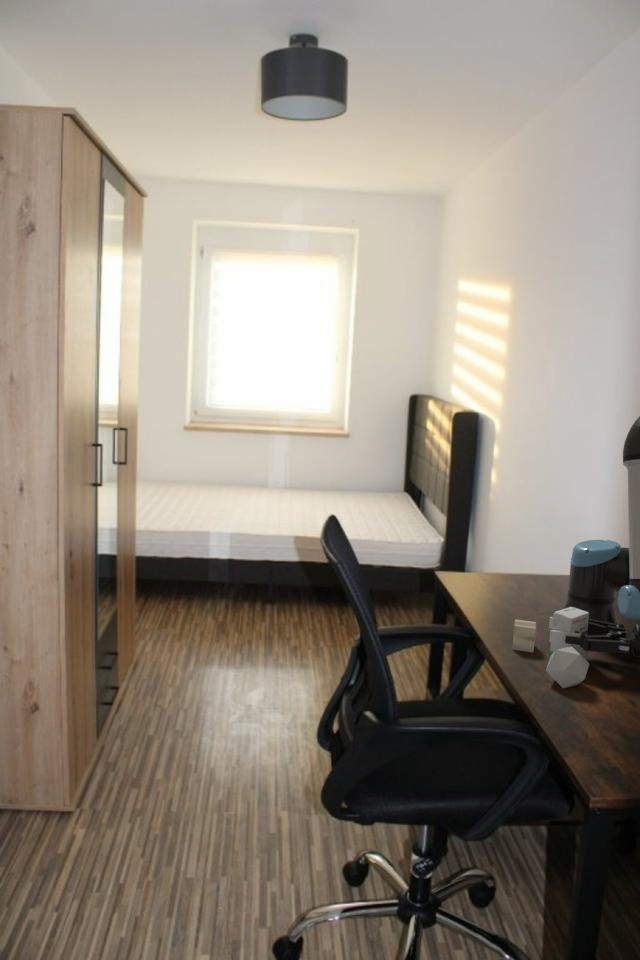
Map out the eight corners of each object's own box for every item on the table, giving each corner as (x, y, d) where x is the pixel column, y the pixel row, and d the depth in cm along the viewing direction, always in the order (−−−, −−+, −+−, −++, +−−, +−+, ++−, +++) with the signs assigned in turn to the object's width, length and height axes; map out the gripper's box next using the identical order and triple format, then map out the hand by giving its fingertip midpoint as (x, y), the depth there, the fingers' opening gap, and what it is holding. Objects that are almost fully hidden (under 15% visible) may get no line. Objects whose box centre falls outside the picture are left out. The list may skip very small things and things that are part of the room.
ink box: (566, 668, 189) (572, 618, 187) (547, 661, 193) (552, 612, 191) (585, 659, 195) (590, 611, 193) (566, 653, 199) (571, 605, 197)
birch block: (512, 642, 204) (515, 619, 203) (533, 645, 203) (536, 622, 202) (512, 649, 199) (514, 625, 198) (533, 652, 198) (535, 628, 197)
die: (565, 676, 186) (543, 642, 185) (600, 667, 181) (577, 633, 179) (557, 700, 180) (534, 666, 178) (593, 692, 175) (569, 657, 173)
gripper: (656, 675, 179) (548, 660, 184) (644, 641, 200) (547, 629, 205) (660, 642, 177) (551, 628, 183) (647, 611, 198) (550, 600, 204)
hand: (549, 629), depth 194 cm, fingers closed on ink box, 9 cm apart
